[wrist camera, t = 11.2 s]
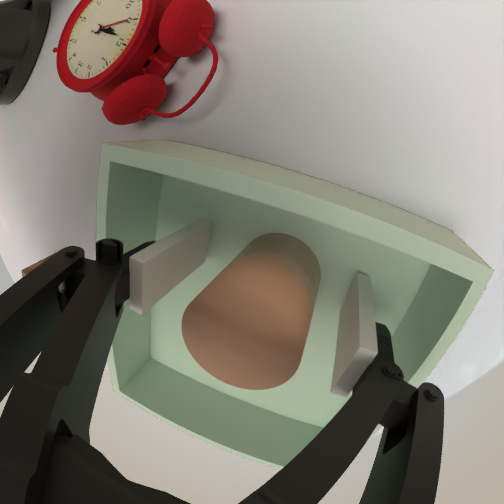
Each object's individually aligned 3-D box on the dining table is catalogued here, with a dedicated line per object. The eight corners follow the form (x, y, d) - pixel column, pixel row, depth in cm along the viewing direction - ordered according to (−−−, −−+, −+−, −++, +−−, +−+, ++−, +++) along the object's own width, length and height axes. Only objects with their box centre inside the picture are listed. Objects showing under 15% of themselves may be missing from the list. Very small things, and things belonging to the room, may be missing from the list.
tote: (147, 355, 25) (113, 391, 20) (164, 139, 17) (101, 143, 12) (329, 429, 21) (319, 479, 16) (452, 231, 13) (494, 270, 8)
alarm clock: (103, -40, 9) (208, -31, 6) (155, -15, 15) (273, 31, 12) (38, 65, 14) (80, 163, 11) (94, 75, 19) (167, 166, 17)
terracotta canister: (232, 293, 18) (177, 361, 12) (249, 221, 16) (187, 269, 10) (305, 320, 17) (279, 403, 11) (332, 249, 15) (321, 320, 9)
